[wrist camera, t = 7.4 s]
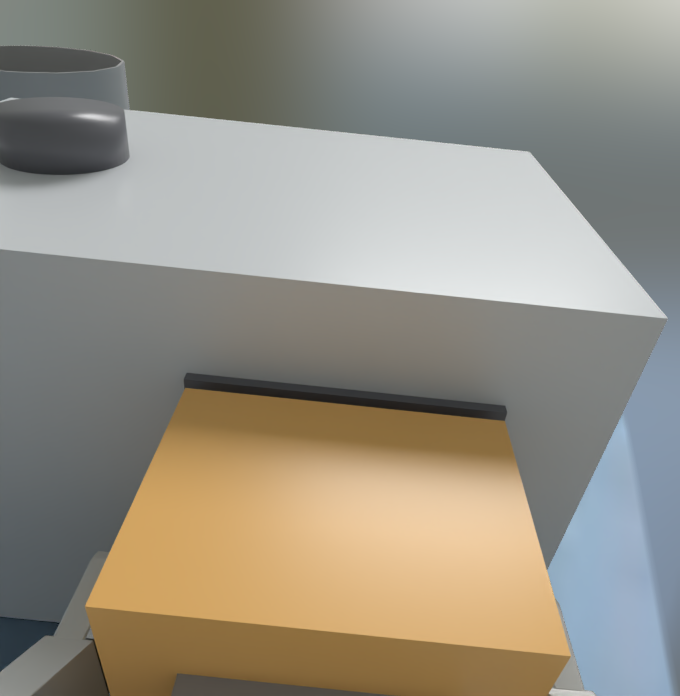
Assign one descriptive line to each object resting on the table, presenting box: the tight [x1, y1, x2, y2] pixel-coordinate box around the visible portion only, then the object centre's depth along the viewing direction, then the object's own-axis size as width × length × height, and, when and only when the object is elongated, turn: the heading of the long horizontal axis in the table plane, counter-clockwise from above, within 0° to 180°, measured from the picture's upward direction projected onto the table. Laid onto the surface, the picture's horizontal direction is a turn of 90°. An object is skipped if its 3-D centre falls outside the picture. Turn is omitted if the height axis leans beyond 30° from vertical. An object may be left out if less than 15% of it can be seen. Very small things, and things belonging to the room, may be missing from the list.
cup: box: [0, 45, 130, 110], centre depth 32 cm, size 8×8×10 cm
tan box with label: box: [85, 388, 571, 696], centre depth 10 cm, size 4×6×9 cm
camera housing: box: [0, 97, 668, 623], centre depth 16 cm, size 10×19×12 cm, turn 87°
